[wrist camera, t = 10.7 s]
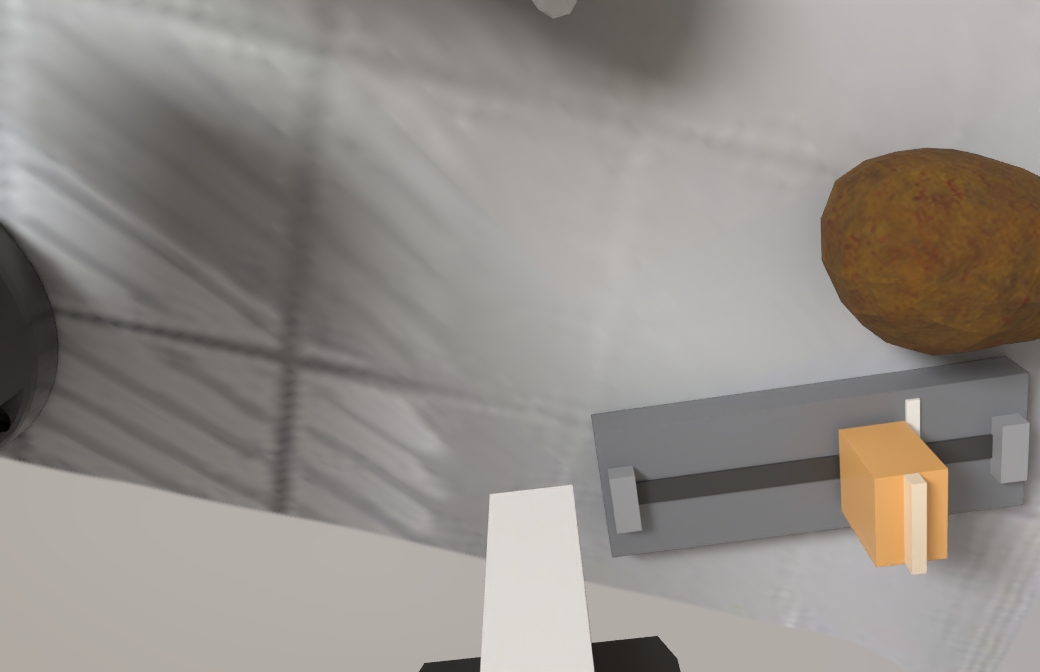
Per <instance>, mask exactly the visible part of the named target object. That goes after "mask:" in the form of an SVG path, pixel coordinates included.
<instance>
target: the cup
mask: <svg viewBox="0 0 1040 672" xmlns="http://www.w3.org/2000/svg"><path fill="white" fill-rule="evenodd" d="M577 1H578V0H532V2H533V3H534V5H535V6H536V7H537V9H538V10H540V11H541V12H543V13H545V14H546V15H548V16H550V17H551V18H553V19H554V18H557V17H561V16H564V15H568V14H570V13H571V11H572V10H573V8H574V6H575V4H576V2H577Z"/></svg>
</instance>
